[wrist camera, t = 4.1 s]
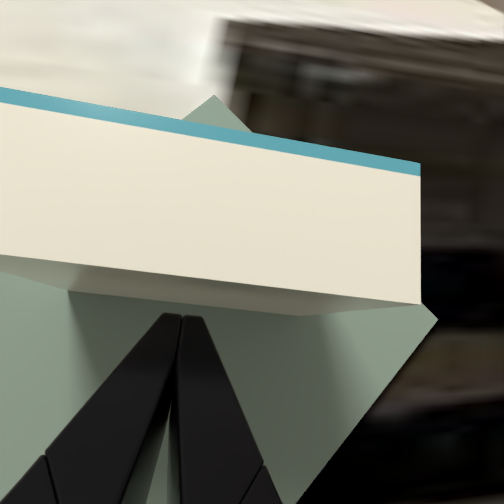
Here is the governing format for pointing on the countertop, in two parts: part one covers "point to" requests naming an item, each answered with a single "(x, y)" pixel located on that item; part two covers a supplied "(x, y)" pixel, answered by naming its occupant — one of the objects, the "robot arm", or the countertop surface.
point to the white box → (201, 212)
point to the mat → (230, 351)
